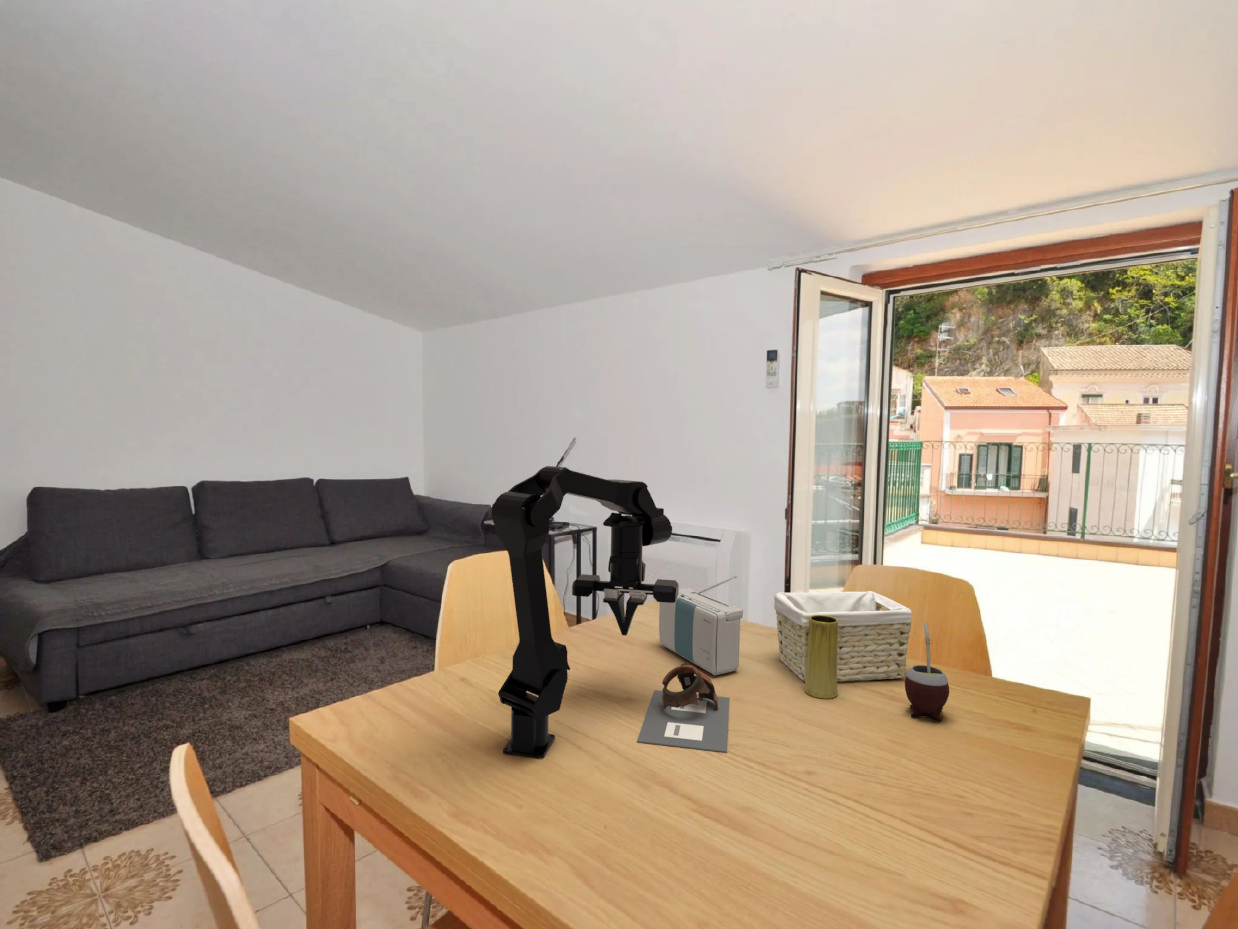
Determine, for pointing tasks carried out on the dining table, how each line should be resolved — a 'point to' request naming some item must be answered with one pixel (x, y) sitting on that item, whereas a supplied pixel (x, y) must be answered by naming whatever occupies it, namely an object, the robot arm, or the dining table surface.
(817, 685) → the vase
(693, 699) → the brown curved piece
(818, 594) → the storage basket
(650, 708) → the label mat
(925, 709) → the mate gourd
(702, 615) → the stereo radio cassette player
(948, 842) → the dining table surface
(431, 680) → the dining table surface
